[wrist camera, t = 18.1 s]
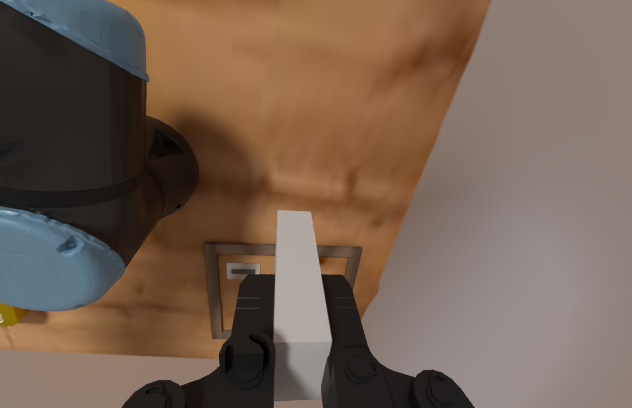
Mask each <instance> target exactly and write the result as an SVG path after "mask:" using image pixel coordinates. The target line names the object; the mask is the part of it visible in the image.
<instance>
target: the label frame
mask: <svg viewBox="0 0 632 408" xmlns="http://www.w3.org/2000/svg"><path fill="white" fill-rule="evenodd" d="M316 247H317V253H318V256H325V257H349V258H348V262H347V267H346V272H345V276H344V277H345V278H346V280H347V281H348V282H349V283H350V285H351V288H352V289H353V285H354V281H355V276H356V272H357V268H358V264H359V260H360V256H361V251H362V247H349V246H316ZM275 249H276V244H250V243H218V242H204V252H205V263H206V274H207V285H208V296H209V307H210V318H211V329H212V339H229V337H230V336H231V332H232V330H222V318H221V302H220V287H219V271H218V255H217V254H246V255H275ZM247 274H260V263H227V279H239V280H244V278H245V277H246V276H247Z"/></svg>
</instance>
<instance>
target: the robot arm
mask: <svg viewBox="0 0 632 408" xmlns="http://www.w3.org/2000/svg"><path fill="white" fill-rule="evenodd" d="M147 82H149V76H148V74H147V73H146V46H145V35H144V32H143V29H142V27H141V25H140V24H139V22H138V21H137V20H136V19H135V17H134V16H132V15H131V14H130V13H129V12H128V11H126V10H125V9H123V8H121V7H119V6H117V5H115V4H113V3H111V2H109V1H106V0H0V303H3V304H6V305H9V306H13V307H18V308H23V309H29V310H36V311H66V310H72V309H77V308H80V307H83V306H85V305H87V304H89V303H92V302H95V301H97V300H98V299H100V298H101V297H102V296H103V295H104V294H105V293H106V292H107V291H108V290H109V289H110V288H111V286H112V285H113V284H114V283H115V282H116V281H117V280H118V279H119V278H121V276H122V275H123V274H124V270H125V268H126V267H127V266H128V264H129V263H130V261H131V260H132V258H133V257H134V255H135V254H136V252H137V251H138V249H139V248H140V247H141V245H142V244H143V242H144V241H145V239H146V238H147V236H148V235H149V233H150V232H151V231H152V229H153V228H154V226H155V225H156V223H157V222H158V220H160V219H162V218H164V217H166V216H167V215H169V214H172V213H173V212H175V211H177V210H178V209H180V208H181V207H182V206H183V205H184V204H185V203H186V202H187V201H188V200H189V198H190V197H191V195H192V193H193V192H194V190H195V188H196V185H197V182H198V165H197V161H196V158H195V155H194V153H193V151H192V149H191V148H190V146H189V145H188V143H187V142H186V141H185V140H184V138H183V137H182V136H181V135H180V134H179V133H178V132H176V131H175V130H174V129H173V128H171V127H170V126H168V125H167V124H165V123H163V122H162V121H160V120H157V119H155V118H153V117H149V116H146V96H147ZM219 363H220V366H219V367H218V368H217V369H216V370H215V371H213V372H212V373H211V374H209V375H207V376H205V377H203V378H201V379H199V380H196V381H193V382H190V383H187V384H184V385H182V386H179V384H177V383H174V382H172V381H171V380H158V381H155V382H152V383H149V384H146V385H145V386H143V387H142V388H140V389H139V390H137V391H136V392H135V393H133V395H132V396H131V397H130V398H129V399H128V400H127V401H126V402H125V404H124V405H123V406H122V408H274V401H288V400H309V399H319V398H320V394H321V393H322V402H323V408H475V407H474V406H473V405H472V403H471V402H470V401H469V399H468V398H467V397H466V395H465V394H464V392H463V391H462V390H461V388H460V387H459V386H458V385H457V384H456V383H455V382H454V381H453V380H452V379H451V378H449V377H448V376H446V375H444V374H443V373H442V372H438V371H435V370H423V371H422V372H420V373H419V374H418V375H417V376H416V378H415V377H412V376H409V375H405V374H402V373H399V372H396V371H393V370H390V369H388V368H386V367H385V366H383V365H382V364H380V363H379V362H378V361H377V360H376V358H374V356H373V355H372V353H371V352H370V350H369V347H368V345H367V341H366V338H365V334H364V331H363V327H362V324H361V320H360V316H359V313H358V309H357V306H356V302H355V299H354V295H353V291H352V288H351V285H350V283H349V282H348V281H347V280H346V278H345V277H344V276H343V275H326V274H321V271H320V265H319V259H318V253H317V247H316V241H315V235H314V229H313V223H312V217H311V212H305V211H284V210H278V214H277V231H276V249H275V270H274V275H272V274H247V276H246V277H245V278H244V280H243V281H242V282H241V284H240V287H239V293H238V299H237V304H236V310H235V315H234V321H233V326H232V332H231V336H230V337H229V339H228V340H227V341H226V342H225V343H224V344H223V346H222V348H221V350H220V353H219Z"/></svg>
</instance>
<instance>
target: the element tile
mask: <svg viewBox="0 0 632 408" xmlns="http://www.w3.org/2000/svg"><path fill="white" fill-rule="evenodd" d="M28 311H29V309H23V308H18V307H13V306H9V305H6V304H3V303H0V326H14V325H15V324H17V323H18V322H19V321H20V320H21V319H22V318H23V317H24V316H25V314H26V313H27V312H28Z"/></svg>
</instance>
